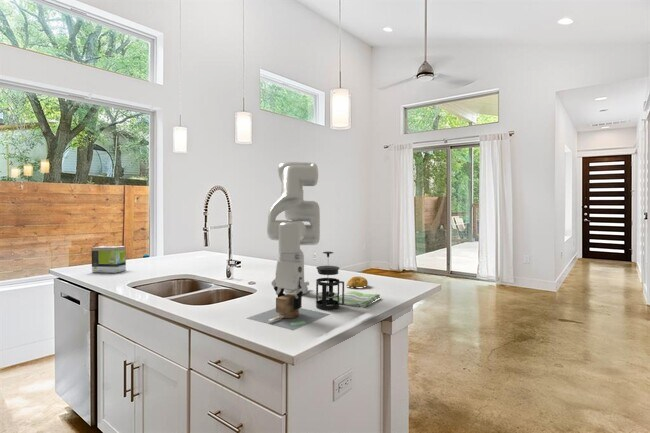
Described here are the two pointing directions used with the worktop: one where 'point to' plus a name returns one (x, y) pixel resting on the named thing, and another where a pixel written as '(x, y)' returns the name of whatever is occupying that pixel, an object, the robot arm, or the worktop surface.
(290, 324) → the dial plate
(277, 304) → the knob
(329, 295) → the french press
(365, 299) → the dish towel
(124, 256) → the tea box
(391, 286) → the worktop surface
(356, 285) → the bagel
